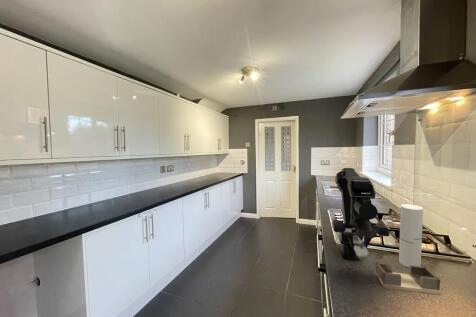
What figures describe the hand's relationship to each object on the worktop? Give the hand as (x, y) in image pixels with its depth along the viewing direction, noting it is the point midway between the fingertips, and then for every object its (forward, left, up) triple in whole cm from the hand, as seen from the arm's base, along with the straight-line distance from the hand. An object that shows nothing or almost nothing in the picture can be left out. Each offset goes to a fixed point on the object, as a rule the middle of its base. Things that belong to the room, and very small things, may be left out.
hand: (358, 248), depth 81 cm
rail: (0, 0, +1) cm, 1 cm away
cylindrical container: (-12, +24, -11) cm, 29 cm away
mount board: (+2, +15, -11) cm, 19 cm away
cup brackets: (+2, +15, -10) cm, 18 cm away
